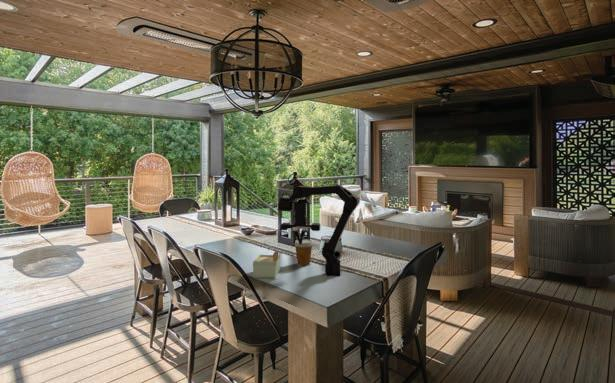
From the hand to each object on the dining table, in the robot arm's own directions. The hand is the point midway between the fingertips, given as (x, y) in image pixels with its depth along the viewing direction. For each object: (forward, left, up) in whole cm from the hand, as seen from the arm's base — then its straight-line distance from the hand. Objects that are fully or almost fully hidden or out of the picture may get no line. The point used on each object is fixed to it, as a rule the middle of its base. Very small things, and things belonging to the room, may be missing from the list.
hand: (300, 244), depth 180 cm
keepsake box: (+15, +7, -13) cm, 21 cm away
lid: (+14, +7, -7) cm, 17 cm away
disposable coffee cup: (0, -11, -13) cm, 17 cm away
